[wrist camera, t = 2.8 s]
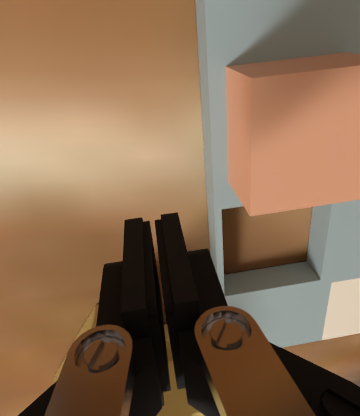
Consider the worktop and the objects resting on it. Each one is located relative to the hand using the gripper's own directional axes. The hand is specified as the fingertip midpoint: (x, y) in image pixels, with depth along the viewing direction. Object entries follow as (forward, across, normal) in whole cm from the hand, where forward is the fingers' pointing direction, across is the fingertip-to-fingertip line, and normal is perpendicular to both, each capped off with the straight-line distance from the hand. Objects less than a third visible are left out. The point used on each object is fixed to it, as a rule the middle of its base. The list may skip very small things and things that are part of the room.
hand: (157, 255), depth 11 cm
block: (+11, -8, -1) cm, 14 cm away
